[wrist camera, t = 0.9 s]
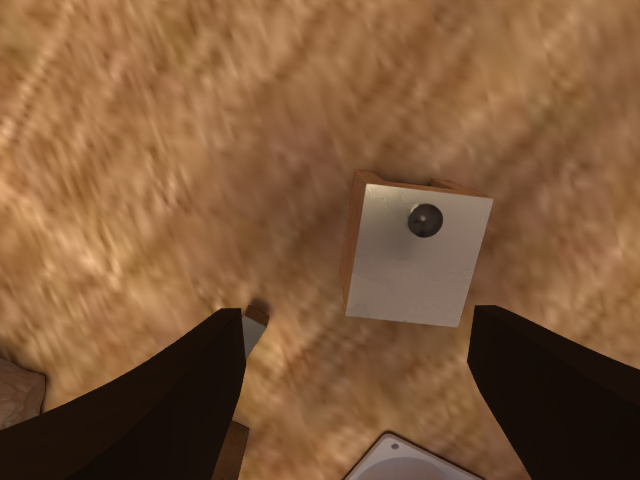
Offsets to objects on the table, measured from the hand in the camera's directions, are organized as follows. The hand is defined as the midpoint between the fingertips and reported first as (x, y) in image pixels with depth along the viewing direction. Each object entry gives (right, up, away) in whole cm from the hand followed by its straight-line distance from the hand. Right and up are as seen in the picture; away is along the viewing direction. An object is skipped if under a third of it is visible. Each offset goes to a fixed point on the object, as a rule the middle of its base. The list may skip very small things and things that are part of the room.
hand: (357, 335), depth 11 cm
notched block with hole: (+3, +4, +9) cm, 10 cm away
